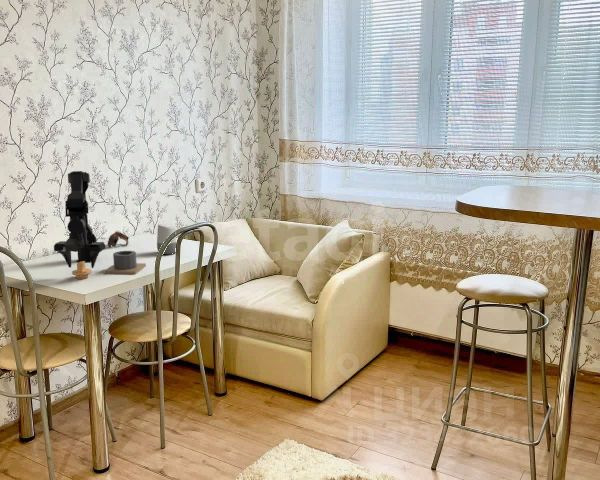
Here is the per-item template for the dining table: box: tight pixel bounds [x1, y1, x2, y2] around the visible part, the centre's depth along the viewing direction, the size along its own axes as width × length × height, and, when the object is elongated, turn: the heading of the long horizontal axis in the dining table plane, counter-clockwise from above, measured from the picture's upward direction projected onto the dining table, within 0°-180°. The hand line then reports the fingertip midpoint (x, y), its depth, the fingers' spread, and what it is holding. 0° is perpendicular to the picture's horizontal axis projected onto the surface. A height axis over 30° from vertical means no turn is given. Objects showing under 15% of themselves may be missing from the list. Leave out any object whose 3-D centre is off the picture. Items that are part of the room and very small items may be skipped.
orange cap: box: [71, 261, 92, 280], centre depth 237 cm, size 7×7×6 cm
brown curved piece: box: [106, 230, 130, 248], centre depth 291 cm, size 12×10×8 cm
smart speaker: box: [156, 223, 178, 255], centre depth 276 cm, size 10×9×14 cm
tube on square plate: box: [103, 250, 147, 275], centre depth 248 cm, size 13×13×7 cm
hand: (81, 267), depth 237 cm, fingers open, 9 cm apart
